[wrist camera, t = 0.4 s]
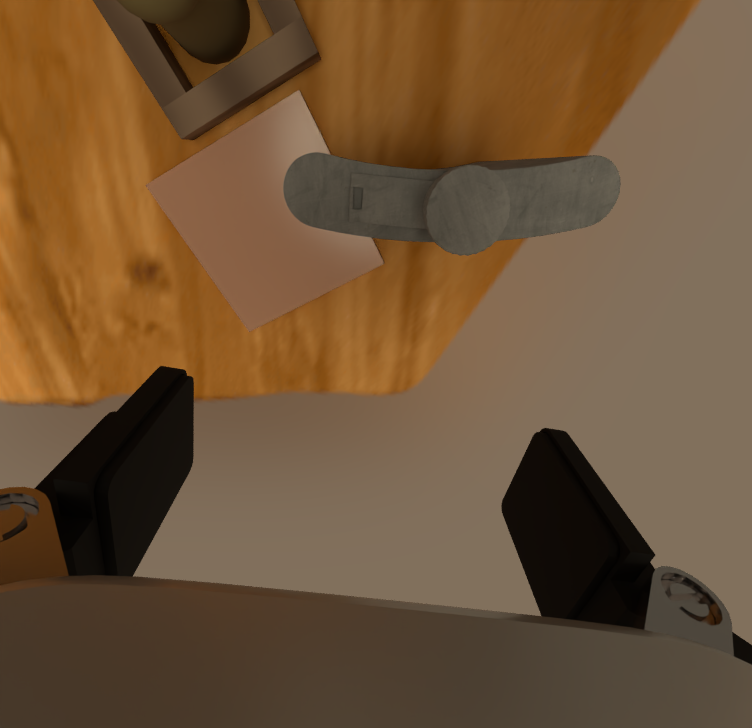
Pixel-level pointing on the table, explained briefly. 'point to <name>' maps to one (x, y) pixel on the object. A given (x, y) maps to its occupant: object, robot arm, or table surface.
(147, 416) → the robot arm
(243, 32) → the olive pawn shape
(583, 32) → the table surface
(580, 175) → the hip flask
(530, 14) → the table surface
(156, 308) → the table surface
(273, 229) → the terracotta tile
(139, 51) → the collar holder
